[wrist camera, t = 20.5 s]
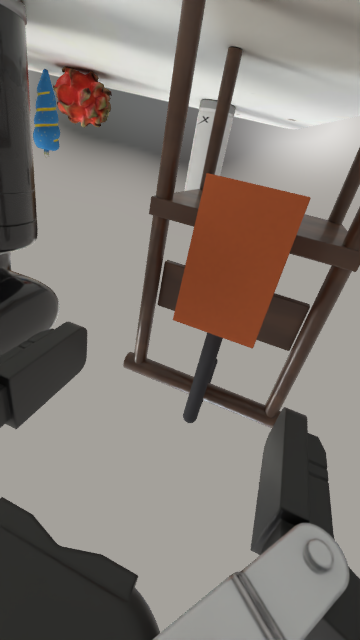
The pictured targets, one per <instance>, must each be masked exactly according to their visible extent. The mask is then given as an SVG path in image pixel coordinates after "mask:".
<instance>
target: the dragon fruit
mask: <svg viewBox="0 0 360 640" xmlns="http://www.w3.org/2000/svg"><path fill="white" fill-rule="evenodd" d="M62 72H65V74H63V75H62V76H60V78H59V79H58V80H57V82H56V85H55V86H53V88H54V90H55V91H56V93H57V98H58V100H59V102H57V105H58V108H59V109H60V111H61V112H62V113H64V114H66V115H68V118H69V120H70V121H71V122H72V123H78V122H79V121H80V122H81V126H82V127H84V128H85V126H87V125H88V124H93V125H94V126H96V127H100V126H101V123H102V122H105V121H106V120H107V117H108V115H109V112H110V110H111V105H110V103H109V102H108V101H109V100H110V97H109V95H111V91H109V90H108V89H106V88H104V84H102V83H100V82H98V79H99V77H98V76H97V75H96V74H95V73H94V72H92V71H90V72H89V73H88V74H86V75H85V74H83V73H81V72H79V71H76V70H75V69H70V68H68V67H64V68H63V69H62Z"/></svg>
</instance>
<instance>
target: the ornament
mask: <svg viewBox="0 0 360 640" xmlns="http://www.w3.org/2000/svg"><path fill="white" fill-rule="evenodd" d="M37 93H38V97H37V101H36V110H37V112H36V115H35V118H34V124H35V129H34V133H33V138H34V142H35V144H36V146H37V147H38V148H42V149H44V154H47V155H49V150H52V151H55V150H57V149H58V148H59V141H58V138H59V136H60V130H59V127H58V124H57V123H58V114H57V111H56V100H55V95H54V92H53V88H52V85H51V81H50V77H49V73H48V71H47V70H46V69H44V70H43V73H42V76H41V78H40V81H39V84H38V87H37Z"/></svg>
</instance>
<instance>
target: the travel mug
mask: <svg viewBox="0 0 360 640" xmlns="http://www.w3.org/2000/svg"><path fill="white" fill-rule="evenodd" d="M216 106H217V101H215V100H208V99H203V100H201V102H200V107H199V111H200V112H199V113H198V118H197V124H196V130H195V135H194V140H193V146H192V151H191V157H190V162H189V168H188V173H187V179H186V184H185V190H184V191H188V190H195V189H200V183H201V179H202V174H203V169H204V164H205V159H206V154H207V149H208V145H209V140H210V135H211V130H212V125H213V120H214V115H215V111H216ZM234 113H235V107H234V106H232V105H230V110H229V114H228V118H227V123H226V127H225V132H224V136H223V141H222V145H221V149H220V154H219V158H218V163H217V167H216V172H215V175H218V176H220V173H221V168H222V164H223V160H224V155H225V151H226V147H227V143H228V139H229V134H230V129H231V125H232V121H233V120H232V118H233V117H234Z"/></svg>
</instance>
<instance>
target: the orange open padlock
mask: <svg viewBox="0 0 360 640" xmlns="http://www.w3.org/2000/svg"><path fill="white" fill-rule="evenodd" d="M309 201H310V197H306V196H302V195H298V194H294V193H290V192H285V191H281V190H277V189H273V188H269V187H264V186H260V185H256V184H251V183H247V182H243V181H238V180H234V179H230V178H226V177H222V176H218V175H213V174H209V173H207V174H206V178H205V183H204V187H203V191H202V196H201V200H200V204H199V209H198V213H197V217H196V222H195V226H194V230H193V235H192V239H191V244H190V248H189V252H188V257H187V261H186V265H185V269H184V274H183V278H182V283H181V287H180V291H179V296H178V300H177V304H176V309H175V313H174V318H173V320H175V321H177V322H180V323H183V324H186V325H188V326H191V327H194V328H197V329H200V330H202V331H205V332H207V336H206V339H205V343H204V346H203V349H202V353H201V356H200V359H199V363H198V366H197V370H196V373H195V376H194V380H193V383H192V387H191V390H190V393H189V397H188V400H187V403H186V407H185V410H184V414H183V418H184V420H185V421H186V422H188V423H193V422H194V421H195V420H196V419H197V416H198V412H199V409H200V407H201V404H202V402H203V397H204V394H205V391H206V388H207V385H208V383H210V382H211V379H212V376H213V373H214V369H215V367H216V364H217V359H216V357H217V354H218V351H219V347H220V345H221V342H222V339H223V338H225V339H227V340H230V341H233V342H236V343H239V344H241V345H244V346H247V347H250V348H253V347H254V344H255V341H256V339H257V336H258V334H259V331H260V328H261V326H262V323H263V321H264V318H265V315H266V313H267V310H268V308H269V305H270V302H271V300H272V297H273V295H274V292H275V289H276V287H277V284H278V282H279V279H280V276H281V274H282V271H283V268H284V266H285V264H286V261H287V258H288V255H289V253H290V251H291V248H292V245H293V243H294V240H295V238H296V235H297V232H298V230H299V227H300V225H301V222H302V219H303V217H304V214H305V211H306V209H307V206H308V204H309Z"/></svg>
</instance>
